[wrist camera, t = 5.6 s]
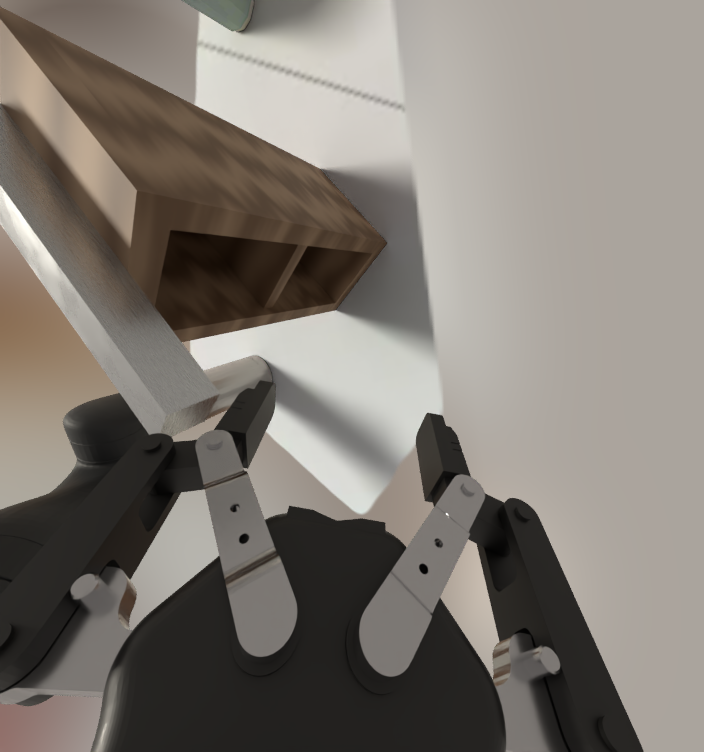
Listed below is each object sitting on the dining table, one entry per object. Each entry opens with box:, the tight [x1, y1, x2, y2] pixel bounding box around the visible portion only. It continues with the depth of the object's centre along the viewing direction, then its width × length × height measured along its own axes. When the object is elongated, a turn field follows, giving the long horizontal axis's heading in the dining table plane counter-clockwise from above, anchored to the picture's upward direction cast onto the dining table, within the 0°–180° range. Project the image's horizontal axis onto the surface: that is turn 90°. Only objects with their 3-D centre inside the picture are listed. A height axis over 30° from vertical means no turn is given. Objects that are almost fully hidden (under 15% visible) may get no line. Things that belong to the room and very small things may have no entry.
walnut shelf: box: [0, 7, 387, 342], centre depth 32 cm, size 16×14×32 cm
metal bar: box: [0, 104, 220, 437], centre depth 17 cm, size 26×4×3 cm, turn 48°
